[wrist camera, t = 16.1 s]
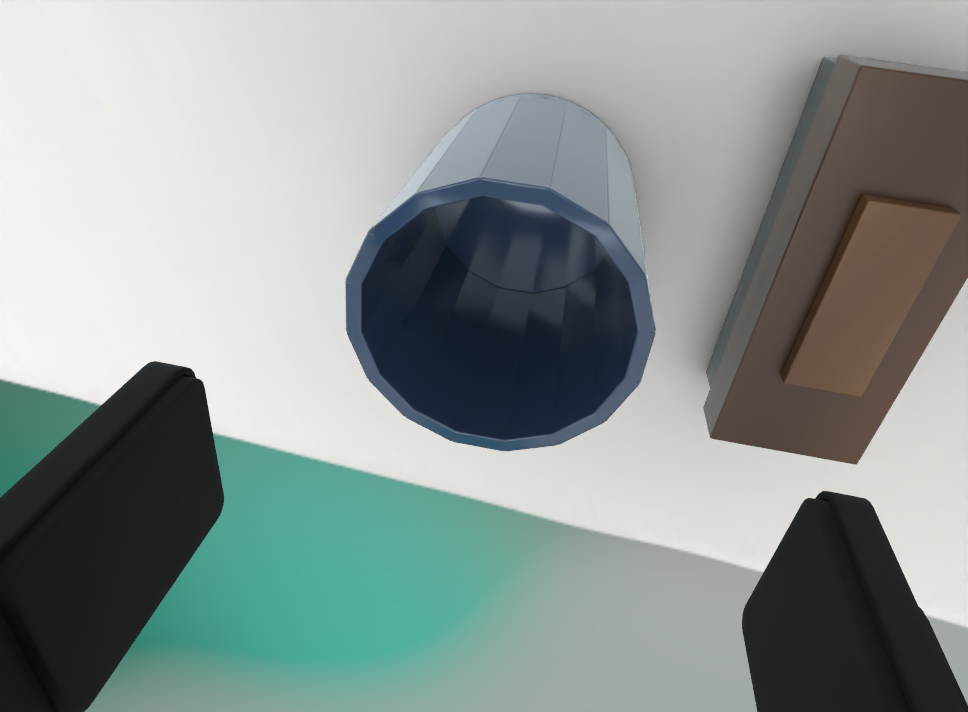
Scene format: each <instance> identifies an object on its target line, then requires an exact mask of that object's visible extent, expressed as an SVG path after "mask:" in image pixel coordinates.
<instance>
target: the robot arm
mask: <svg viewBox="0 0 968 712" xmlns="http://www.w3.org/2000/svg"><path fill="white" fill-rule="evenodd" d="M223 503H224V494H223V488H222V483H221V477H220V471H219V466H218V460H217V455H216V449H215V444H214V438H213V432H212V427H211V421H210V416H209V410H208V405H207V399H206V393H205V388H204V384H203V382H202V381H201V380H200V379H196V377H195V374H194V372H193V371H192V369H190V368H187V367H182V366H177V365H172V364H167V363H161V362H156V361H154V362H150V363H148V364H147V365H145V366H144V367H143V368H142V369H141V370H140V371H139V372H138V373H136V374H135V375H134V376H133V377H132V378H131V379H130V380H129V381H128V382H127V383H126V384H124V385H123V386H122V387H121V388H120V389H119V390H118V391H117V392H116V393H115V394H113V395H112V396H111V397H110V398H109V399H108V400H107V401H106V402H105V403H104V404H103V405H101V406H100V407H99V408H98V409H97V410H96V411H95V412H94V413H93V414H92V415H90V417H89V418H87V419H86V420H85V421H84V422H83V423H82V424H81V425H80V426H78V428H76V429H75V430H74V431H73V432H72V433H71V434H70V435H69V436H68V437H67V438H65V439H64V440H63V441H62V442H61V443H60V444H59V445H58V446H57V447H55V448H54V449H53V450H52V451H51V452H50V453H49V454H48V455H47V456H46V457H44V459H42V460H41V461H40V462H39V463H38V464H37V465H36V466H35V467H34V468H32V470H30V471H29V472H28V473H27V474H26V475H25V476H24V477H23V478H21V479H20V480H19V481H18V482H17V483H16V484H15V485H14V486H13V487H12V488H11V489H9V490H8V491H7V492H6V493H5V494H4V495H3V496H2V497H1V498H0V712H84V711H85V710H86V709H87V708H88V707H89V706H90V705H91V703H92V702H93V701H94V699H95V698H96V696H97V695H98V694H99V692H100V691H101V689H102V688H103V686H104V685H105V683H106V682H107V680H108V679H109V678H110V676H111V675H112V673H113V672H114V670H115V669H116V667H117V666H118V664H119V663H120V661H121V660H122V658H123V657H124V656H125V654H126V653H127V651H128V650H129V648H130V647H131V645H132V644H133V642H134V641H135V639H136V638H137V636H138V635H139V634H140V632H141V631H142V629H143V628H144V626H145V625H146V623H147V622H148V620H149V619H150V617H151V616H152V614H153V613H154V612H155V610H156V609H157V607H158V605H159V604H160V603H161V601H162V600H163V598H164V597H165V595H166V594H167V592H168V591H169V589H170V588H171V587H172V585H173V584H174V582H175V581H176V579H177V578H178V576H179V575H180V573H181V572H182V571H183V569H184V567H185V566H186V564H187V563H188V562H189V560H190V559H191V557H192V556H193V554H194V553H195V551H196V550H197V548H198V547H199V546H200V544H201V542H202V541H203V540H204V538H205V537H206V535H207V534H208V532H209V531H210V529H211V528H212V527H213V525H214V524H215V522H216V521H217V519H218V517H219V516H220V513H221V511H222V508H223ZM742 629H743V635H744V641H745V646H746V652H747V657H748V663H749V668H750V674H751V679H752V684H753V690H754V695H755V701H756V706H757V712H968V705H967V703H966V701H965V699H964V696H963V694H962V692H961V690H960V688H959V685H958V683H957V681H956V679H955V677H954V675H953V673H952V670H951V668H950V666H949V664H948V662H947V659H946V657H945V655H944V653H943V651H942V648H941V646H940V644H939V642H938V640H937V638H936V636H935V633H934V631H933V629H932V627H931V625H930V622H929V620H928V619H927V617H926V616H925V614H924V612H923V611H922V609H921V608H919V607H918V605H917V603H916V600H915V598H914V596H913V594H912V592H911V589H910V587H909V585H908V583H907V581H906V578H905V576H904V574H903V572H902V569H901V567H900V565H899V563H898V561H897V558H896V556H895V554H894V552H893V550H892V547H891V545H890V543H889V541H888V539H887V536H886V534H885V532H884V530H883V528H882V525H881V523H880V521H879V519H878V517H877V514H876V512H875V510H874V508H873V506H872V505H871V503H870V502H869V501H868V500H866V499H865V498H860V497H854V496H849V495H844V494H839V493H834V492H829V491H823V492H821V493H819V494H818V496H817V497H816V498H815V499H813V498H807V499H806V500H804V502H803V503H802V505H801V506H800V508H799V510H798V512H797V514H796V515H795V517H794V519H793V521H792V523H791V524H790V526H789V528H788V530H787V532H786V533H785V535H784V537H783V539H782V541H781V542H780V544H779V546H778V548H777V550H776V551H775V553H774V555H773V557H772V559H771V560H770V562H769V564H768V566H767V568H766V569H765V571H764V573H763V575H762V577H761V578H760V580H759V582H758V584H757V586H756V587H755V589H754V591H753V593H752V595H751V597H750V598H749V600H748V602H747V604H746V606H745V608H744V612H743V618H742Z"/></svg>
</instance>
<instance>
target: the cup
mask: <svg viewBox="0 0 968 712" xmlns="http://www.w3.org/2000/svg"><path fill="white" fill-rule="evenodd" d="M346 331H347V335H348V337H349V339H350V341H351V343H352V346H353V348H354V350H355V352H356V354H357V357H358V359H359V361H360V363H361V365H362V368H363V370H364V372H365V374H366V376H367V378H368V379H369V381H370V382H371V383H372V384H373V385H374V386H375V387H376V388H377V389H378V390H379V391H380V392H381V393H382V394H383V395H384V396H385V397H386V398H387V399H388V400H389V401H390V402H391V403H392V404H393V405H394V406H395V407H396V409H397V410H398V411H399V412H400V413H401V414H402V415H403V416H406V418H408V419H410V420H412V421H414V422H415V423H417V424H419V425H421V426H423V427H425V428H427V429H429V430H431V431H433V432H435V433H437V434H439V435H441V436H442V437H444V438H446V439H448V440H450V441H453V442H457V443H462V444H468V445H473V446H479V447H484V448H489V449H495V450H500V451H513V450H521V449H529V448H537V447H546V446H554V445H557V444H561V443H563V442H565V441H567V440H569V439H571V438H573V437H575V436H578V435H580V434H582V433H584V432H586V431H588V430H590V429H592V428H594V427H596V426H598V425H600V424H602V423H604V422H605V421H607V419H608V418H609V417H610V416H611V415H612V414H613V413H614V412H615V411H616V409H617V408H618V407H619V406H620V405H621V404H622V403H623V402H624V401H625V399H626V398H627V397H628V396H629V395H630V394H631V393H632V392H633V391H634V389H635V388H636V387H637V386H638V385H639V383H640V382H641V379H642V376H643V373H644V369H645V366H646V363H647V359H648V356H649V353H650V349H651V346H652V343H653V340H654V336H655V323H654V316H653V309H652V302H651V295H650V288H649V282H648V275H647V268H646V261H645V254H644V247H643V240H642V233H641V226H640V219H639V212H638V205H637V199H636V193H635V188H634V181H633V176H632V170H631V164H630V162H629V160H628V159H627V157H626V154H625V152H624V150H623V148H622V147H621V145H620V143H619V141H618V140H617V138H616V137H615V136H614V135H613V133H612V132H611V131H610V129H609V128H608V127H607V126H606V125H605V124H604V123H603V122H602V121H601V120H600V119H598V118H597V117H596V116H594V115H593V114H592V113H590V112H589V111H588V110H586V109H584V108H582V107H580V106H579V105H577V104H575V103H573V102H570V101H567V100H564V99H562V98H558V97H554V96H549V95H543V94H516V95H511V96H507V97H502V98H499V99H496V100H493V101H491V102H488V103H486V104H484V105H482V106H480V107H478V108H477V109H475V110H473V111H472V112H471V113H469V114H468V115H467V116H465V117H464V118H463V119H462V120H461V121H460V122H459V123H458V124H457V125H455V126H454V128H452V129H451V130H450V131H449V132H447V133H446V134H445V136H444V137H443V138H442V139H441V141H440V142H439V143H438V144H437V146H436V147H435V148H434V149H433V151H432V152H431V153H430V154H429V156H428V157H427V158H426V159H425V161H424V162H423V163H422V164H421V166H420V167H419V168H418V169H417V171H416V172H415V173H414V174H413V176H412V177H411V178H410V180H409V181H408V182H407V183H406V185H405V186H404V187H403V188H402V190H401V191H400V192H399V193H398V195H397V196H396V197H395V198H394V200H393V201H392V202H391V203H390V205H389V206H388V207H387V208H386V210H385V211H384V212H383V213H382V215H381V216H380V217H379V219H378V220H377V221H376V222H375V224H374V225H373V226H372V227H371V229H370V230H369V231H368V233H367V235H366V237H365V239H364V241H363V243H362V246H361V248H360V250H359V252H358V254H357V256H356V258H355V260H354V263H353V265H352V267H351V269H350V271H349V273H348V275H347V277H346Z"/></svg>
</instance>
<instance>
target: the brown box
mask: <svg viewBox="0 0 968 712" xmlns="http://www.w3.org/2000/svg"><path fill="white" fill-rule="evenodd" d="M967 278H968V72H961V71H954V70H947V69H940V68H933V67H925V66H918V65H911V64H904V63H896V62H889V61H882V60H875V59H868V58H860V57H853V56H846V55H839V56H838V58H837V59H835V58H828V57H824V58H823V59H822V62H821V65H820V67H819V70H818V73H817V75H816V78H815V81H814V83H813V86H812V89H811V92H810V94H809V97H808V100H807V102H806V105H805V108H804V110H803V113H802V116H801V118H800V121H799V124H798V126H797V129H796V132H795V135H794V137H793V140H792V143H791V145H790V148H789V151H788V153H787V156H786V159H785V161H784V164H783V167H782V170H781V172H780V175H779V178H778V180H777V183H776V186H775V188H774V191H773V194H772V196H771V199H770V202H769V204H768V207H767V210H766V213H765V215H764V218H763V221H762V223H761V226H760V229H759V231H758V234H757V237H756V239H755V242H754V245H753V247H752V250H751V253H750V256H749V258H748V261H747V264H746V266H745V269H744V272H743V274H742V277H741V280H740V282H739V285H738V288H737V291H736V293H735V296H734V299H733V301H732V304H731V307H730V309H729V312H728V315H727V317H726V320H725V323H724V325H723V328H722V331H721V334H720V336H719V339H718V342H717V344H716V347H715V350H714V352H713V355H712V358H711V360H710V363H709V366H708V368H707V371H706V373H707V377H708V381H709V385H710V391H709V394H708V397H707V399H706V402H705V404H704V412H705V417H706V421H707V426H708V430H709V435H710V438H712V439H717V440H723V441H728V442H734V443H739V444H745V445H751V446H756V447H762V448H767V449H773V450H778V451H784V452H790V453H795V454H801V455H806V456H812V457H817V458H823V459H828V460H834V461H840V462H845V463H851V464H857V463H858V461H859V460H860V458H861V456H862V455H863V453H864V451H865V450H866V448H867V446H868V445H869V443H870V441H871V440H872V438H873V436H874V434H875V433H876V431H877V429H878V428H879V426H880V424H881V423H882V421H883V419H884V418H885V416H886V414H887V413H888V411H889V409H890V408H891V406H892V404H893V402H894V401H895V399H896V397H897V396H898V394H899V392H900V391H901V389H902V387H903V386H904V384H905V382H906V381H907V379H908V377H909V375H910V374H911V372H912V370H913V369H914V367H915V365H916V364H917V362H918V360H919V359H920V357H921V355H922V354H923V352H924V350H925V349H926V347H927V345H928V343H929V342H930V340H931V338H932V337H933V335H934V333H935V332H936V330H937V328H938V327H939V325H940V323H941V322H942V320H943V318H944V316H945V315H946V313H947V311H948V310H949V308H950V306H951V305H952V303H953V301H954V300H955V298H956V296H957V295H958V293H959V291H960V290H961V288H962V286H963V284H964V283H965V281H966V279H967Z"/></svg>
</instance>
